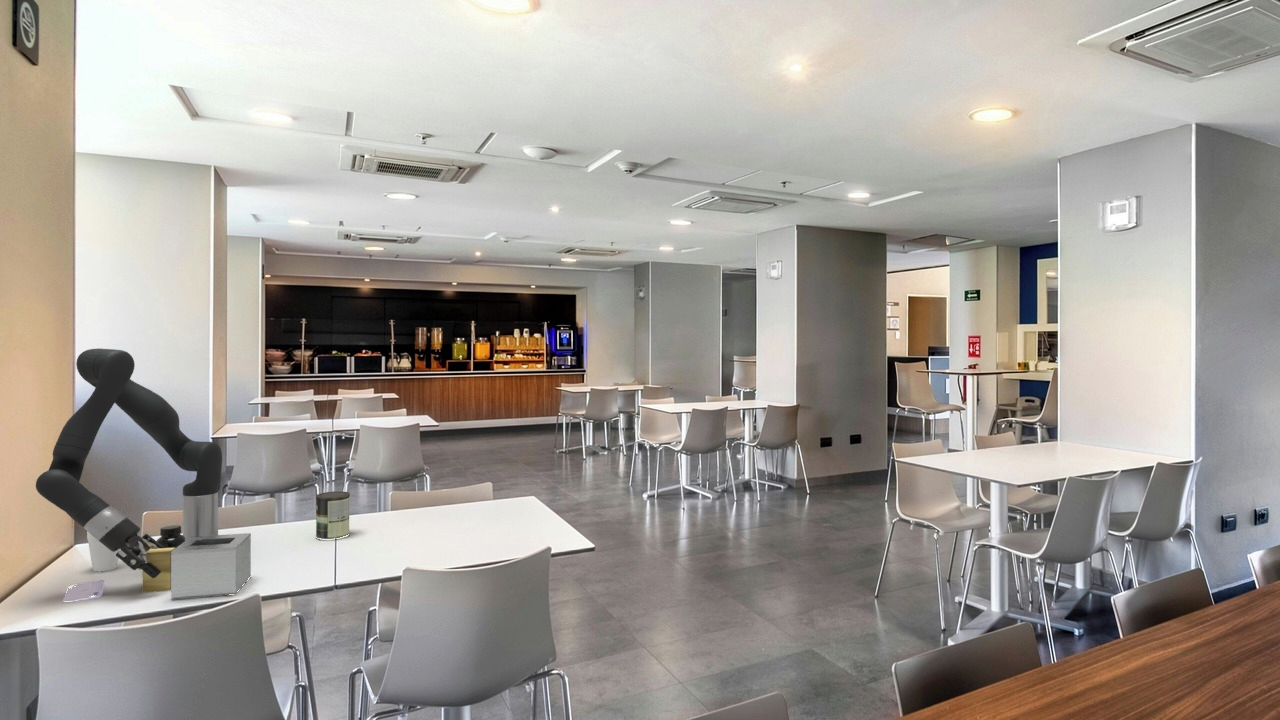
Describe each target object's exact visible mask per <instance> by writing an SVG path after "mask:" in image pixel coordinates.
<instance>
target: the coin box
mask: <svg viewBox="0 0 1280 720" xmlns="http://www.w3.org/2000/svg"><path fill="white" fill-rule="evenodd" d="M251 535H252V533H251V532H247V533H245V532H244V533H230V534H228V533H227V534H218V535H211V536H195V537H190V538H189V539H188V540H186V541H185V542H184V543H182V544H181V545H179V546H178V547H177V548H175V549H174V550H172V551H171V590H170V593H171V594H170V598H171V599H170V601H177V600H178V601H180V600H190V598H192V599H201V598H203V597H204V598H211V597H210V596H216V597H222V596H221V595H228V596H230V595H229V594H236V593H237V591H238V590H239V589H240V588H241V587H242V585H243V584H244V583H245V582H246V581H247V580H248V578H249V577H250V576H251V577H252V575H251V571H252V569H251V568H252V565H251V564H252V559H251V558H252V556H251V555H252V553H251V552H252V550H251V549H252V545H251V544H252V538H251V537H252V536H251ZM248 581H249V580H248ZM248 581H247V582H248ZM247 582H246V583H247ZM246 583H245V584H246ZM242 588H243V587H242ZM242 588H241V589H242ZM241 589H240V590H241ZM240 590H239V591H240ZM237 594H238V593H237ZM237 594H236V595H237ZM204 598H203V599H204Z"/></svg>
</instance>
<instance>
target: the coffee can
mask: <svg viewBox="0 0 1280 720" xmlns="http://www.w3.org/2000/svg"><path fill="white" fill-rule="evenodd" d="M350 496H351V493H350V492H348V491H343V490H342V491H341V490H340V491H339V490H337V491H328V492H327V491H326V492H322V493H318V494H316V495H315V502H316V504H315V507H316V509H315V511H316V514H315V517H316V518H315V522H316V523H315V527H316V528H315V531H316V532H315V538H316V537H317V538H321V539H334V538H340V537H343V536H346V535H348V534H349V535H350Z"/></svg>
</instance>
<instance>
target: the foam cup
mask: <svg viewBox="0 0 1280 720" xmlns="http://www.w3.org/2000/svg"><path fill="white" fill-rule="evenodd" d="M86 540H87V542H88V548H89V555H90V560H91V566H92V567H91V568H92V571H93V572H94V571H98V572H97V573H101V571H103V572H108V571H113V570H115V569H117V568H118V564H119V558H118V557H117V556H116V553H118V552H119V551H120V549H119V550H117V551H115V552H112V551H111V550H109V549H108V548H107V547H106V546H104V545H103V544H102V543H101V542H99V541H98V540H97V539H95V538H94V537H93V536H92V535H90V534H89V533H88V531H87V530H86Z"/></svg>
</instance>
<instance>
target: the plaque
mask: <svg viewBox="0 0 1280 720" xmlns="http://www.w3.org/2000/svg"><path fill="white" fill-rule="evenodd" d="M174 549H175V548H161V549H150V550H148V551H147V552H146V553H147V555H146V557H147V559H148V561H149V562H151V563H152V564H153V565H154V566H156V567H157V568H158V569H159V570H161V573H160V574H159V575H158V576H157V577H155V578H152V577H150V576H149V575H148V574H147V573H145V572H144V571H143V570H142V593H152V592H153V593H154V592H155V591H156V592H166V591H167V590H169V591H171V551H172V550H174ZM149 562H148V563H149ZM156 592H155V593H156ZM167 592H168V591H167Z"/></svg>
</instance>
